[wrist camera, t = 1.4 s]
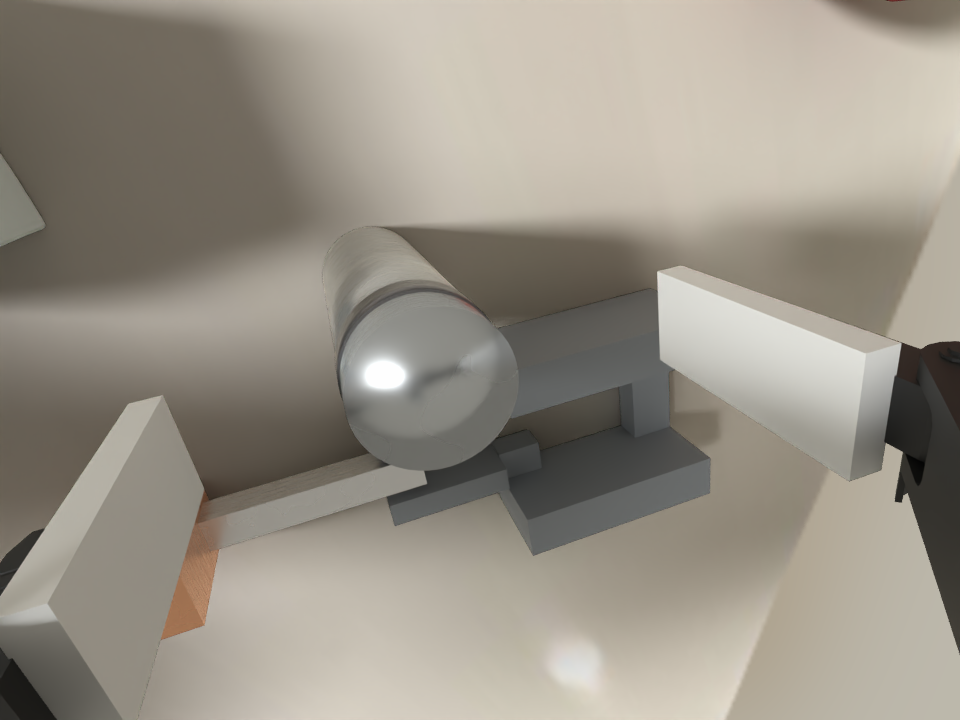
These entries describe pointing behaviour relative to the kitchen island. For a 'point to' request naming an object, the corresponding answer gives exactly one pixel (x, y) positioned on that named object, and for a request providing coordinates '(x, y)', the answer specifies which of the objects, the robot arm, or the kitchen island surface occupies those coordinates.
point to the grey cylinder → (413, 355)
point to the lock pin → (273, 521)
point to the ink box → (15, 208)
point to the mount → (589, 460)
